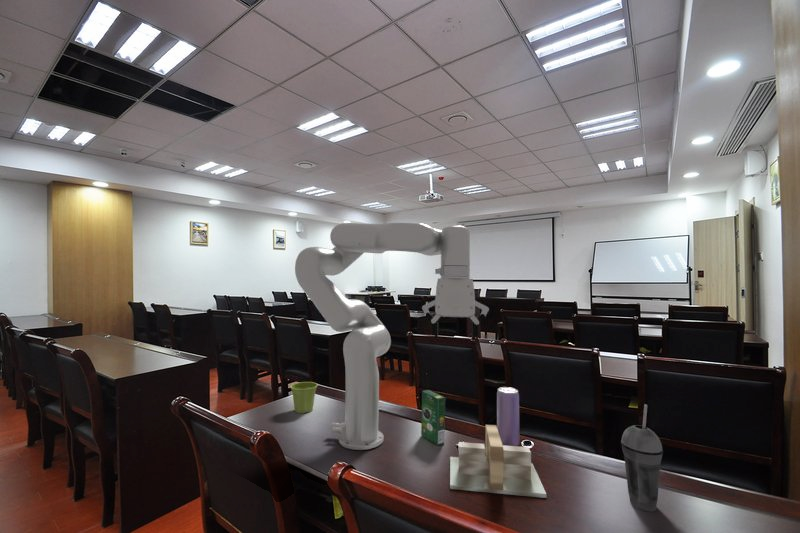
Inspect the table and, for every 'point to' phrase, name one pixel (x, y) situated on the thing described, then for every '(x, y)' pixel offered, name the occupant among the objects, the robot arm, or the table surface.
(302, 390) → the plant pot
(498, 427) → the beverage can
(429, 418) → the coffee box
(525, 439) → the table surface
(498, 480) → the wooden block
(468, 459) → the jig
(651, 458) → the beverage cup
